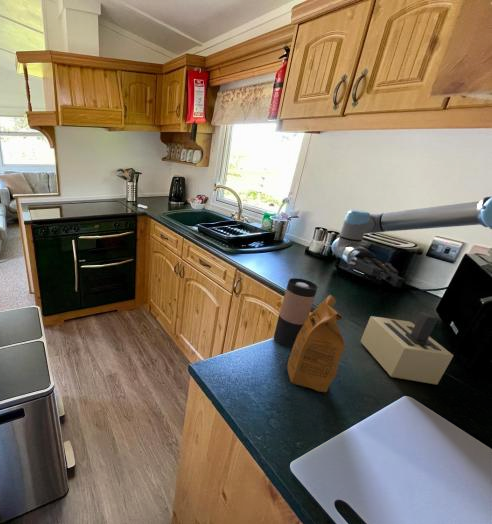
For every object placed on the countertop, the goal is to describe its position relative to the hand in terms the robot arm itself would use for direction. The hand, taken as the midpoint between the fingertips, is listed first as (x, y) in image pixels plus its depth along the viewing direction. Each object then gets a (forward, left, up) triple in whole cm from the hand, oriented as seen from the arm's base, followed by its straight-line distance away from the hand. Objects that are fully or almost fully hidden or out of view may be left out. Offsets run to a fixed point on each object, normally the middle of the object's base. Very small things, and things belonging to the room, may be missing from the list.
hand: (399, 283), depth 86 cm
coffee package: (+11, +35, -21) cm, 42 cm away
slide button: (-7, +12, -11) cm, 18 cm away
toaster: (-6, +9, -21) cm, 23 cm away
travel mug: (+20, +23, -21) cm, 37 cm away
